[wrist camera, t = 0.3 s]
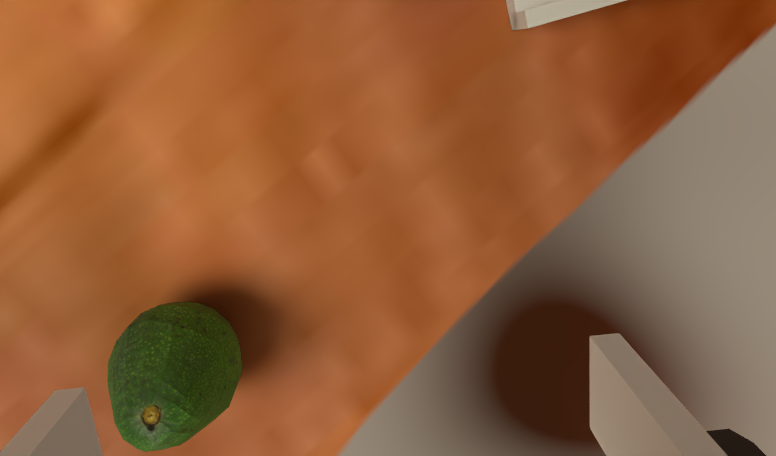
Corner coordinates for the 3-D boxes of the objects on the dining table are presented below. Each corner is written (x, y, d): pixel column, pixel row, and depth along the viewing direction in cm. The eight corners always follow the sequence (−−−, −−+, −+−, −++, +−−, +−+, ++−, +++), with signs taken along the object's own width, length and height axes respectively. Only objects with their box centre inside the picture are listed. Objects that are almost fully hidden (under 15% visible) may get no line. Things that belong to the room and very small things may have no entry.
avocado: (276, 344, 45) (245, 446, 33) (190, 401, 46) (132, 520, 34) (204, 258, 43) (144, 335, 31) (116, 320, 44) (27, 417, 32)
